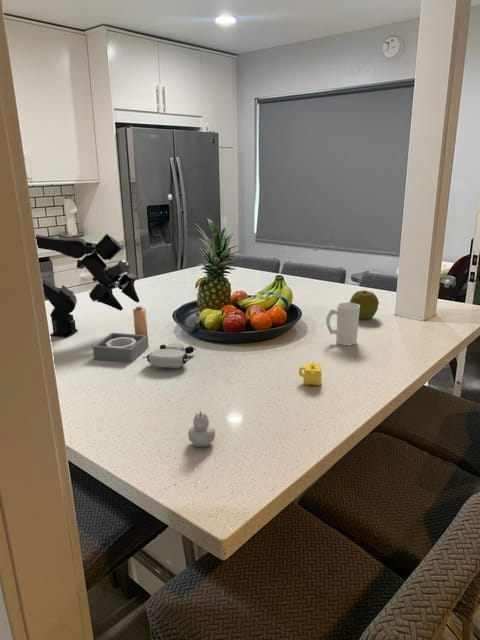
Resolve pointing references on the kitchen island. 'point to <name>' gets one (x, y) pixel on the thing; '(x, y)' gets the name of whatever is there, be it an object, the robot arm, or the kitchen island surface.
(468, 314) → the kitchen island surface
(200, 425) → the grey potted plant
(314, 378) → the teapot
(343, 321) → the mug
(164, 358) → the robot toy
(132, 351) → the housing
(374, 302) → the apple
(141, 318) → the orange cylinder
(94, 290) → the robot arm
